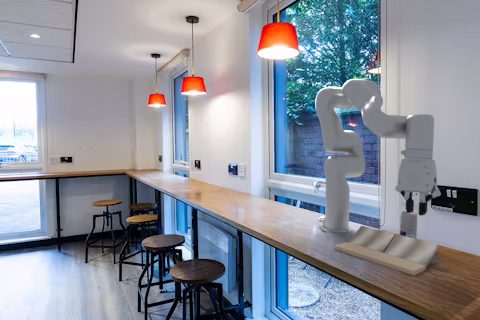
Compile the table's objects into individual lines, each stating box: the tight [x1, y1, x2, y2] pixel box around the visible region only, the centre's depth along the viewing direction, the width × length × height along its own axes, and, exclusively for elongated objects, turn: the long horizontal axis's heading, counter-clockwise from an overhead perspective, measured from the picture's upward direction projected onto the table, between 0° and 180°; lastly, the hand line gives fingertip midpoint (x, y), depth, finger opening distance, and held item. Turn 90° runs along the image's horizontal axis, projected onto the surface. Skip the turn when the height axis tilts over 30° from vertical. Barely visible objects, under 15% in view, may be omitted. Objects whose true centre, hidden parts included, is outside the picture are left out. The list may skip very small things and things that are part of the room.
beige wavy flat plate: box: [348, 225, 397, 253], centre depth 110 cm, size 12×9×1 cm
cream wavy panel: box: [384, 234, 439, 269], centre depth 99 cm, size 12×9×1 cm
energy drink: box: [399, 210, 418, 239], centre depth 115 cm, size 5×5×12 cm
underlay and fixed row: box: [334, 241, 444, 278], centre depth 103 cm, size 26×21×2 cm
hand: (415, 213), depth 100 cm, fingers open, 3 cm apart
